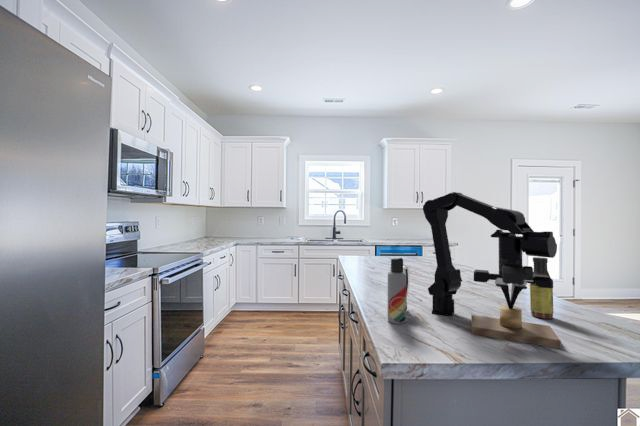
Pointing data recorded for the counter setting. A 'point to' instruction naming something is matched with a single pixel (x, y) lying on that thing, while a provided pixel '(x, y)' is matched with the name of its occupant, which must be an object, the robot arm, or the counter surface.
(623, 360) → the counter surface
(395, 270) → the lotion bottle
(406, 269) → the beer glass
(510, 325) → the oak peg
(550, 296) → the sauce bottle
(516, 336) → the walnut board
